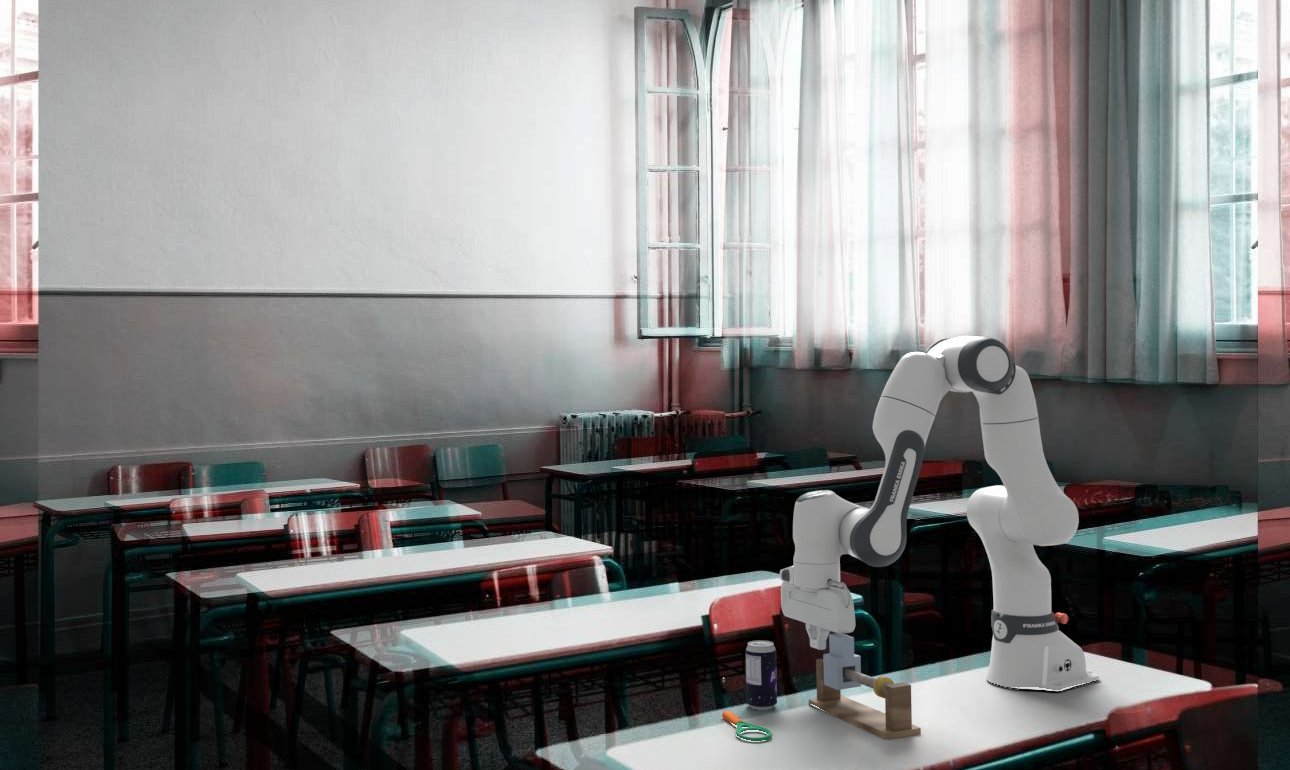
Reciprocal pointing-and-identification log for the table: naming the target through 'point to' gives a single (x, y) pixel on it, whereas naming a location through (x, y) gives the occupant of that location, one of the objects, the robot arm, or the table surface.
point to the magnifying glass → (737, 721)
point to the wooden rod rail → (867, 718)
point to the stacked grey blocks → (840, 662)
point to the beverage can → (761, 675)
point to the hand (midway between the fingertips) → (818, 648)
